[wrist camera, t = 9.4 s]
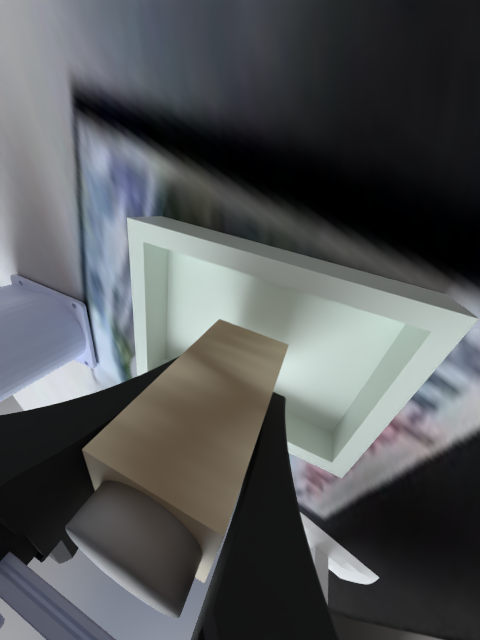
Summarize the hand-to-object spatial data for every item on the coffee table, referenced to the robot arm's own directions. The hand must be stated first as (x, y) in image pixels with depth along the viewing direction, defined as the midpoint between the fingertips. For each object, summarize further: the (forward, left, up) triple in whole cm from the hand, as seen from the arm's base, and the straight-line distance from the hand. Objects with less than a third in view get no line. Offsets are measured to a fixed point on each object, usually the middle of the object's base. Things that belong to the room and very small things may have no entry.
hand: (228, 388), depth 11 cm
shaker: (0, 0, -2) cm, 2 cm away
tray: (0, 0, -5) cm, 5 cm away
